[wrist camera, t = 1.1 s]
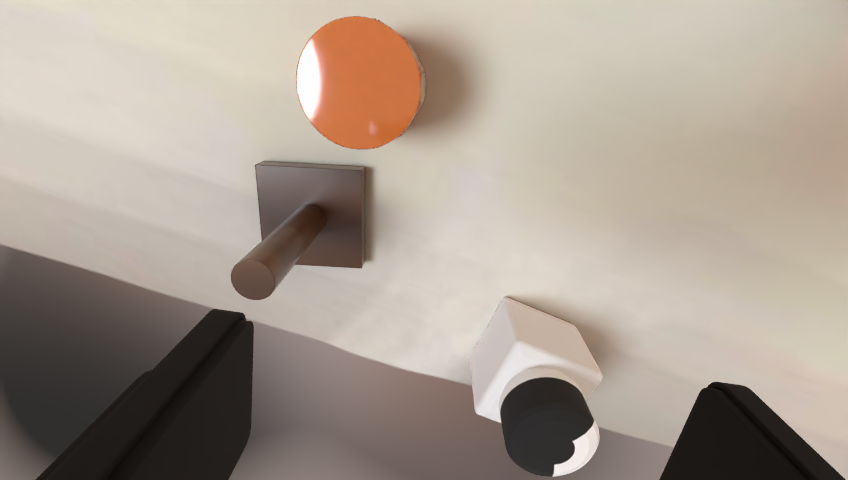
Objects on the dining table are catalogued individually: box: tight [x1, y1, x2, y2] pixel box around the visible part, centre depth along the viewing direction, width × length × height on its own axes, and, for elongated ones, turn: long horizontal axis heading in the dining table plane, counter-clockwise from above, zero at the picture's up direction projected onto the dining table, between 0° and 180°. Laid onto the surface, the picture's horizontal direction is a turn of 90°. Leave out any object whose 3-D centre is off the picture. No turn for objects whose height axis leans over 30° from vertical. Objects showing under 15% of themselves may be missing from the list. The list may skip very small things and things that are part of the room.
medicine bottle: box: [469, 297, 603, 476], centre depth 33 cm, size 7×7×12 cm
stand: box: [231, 161, 365, 300], centre depth 29 cm, size 8×8×13 cm
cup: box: [296, 16, 426, 149], centre depth 27 cm, size 7×7×8 cm
